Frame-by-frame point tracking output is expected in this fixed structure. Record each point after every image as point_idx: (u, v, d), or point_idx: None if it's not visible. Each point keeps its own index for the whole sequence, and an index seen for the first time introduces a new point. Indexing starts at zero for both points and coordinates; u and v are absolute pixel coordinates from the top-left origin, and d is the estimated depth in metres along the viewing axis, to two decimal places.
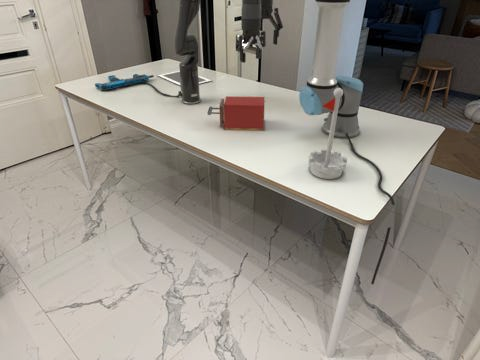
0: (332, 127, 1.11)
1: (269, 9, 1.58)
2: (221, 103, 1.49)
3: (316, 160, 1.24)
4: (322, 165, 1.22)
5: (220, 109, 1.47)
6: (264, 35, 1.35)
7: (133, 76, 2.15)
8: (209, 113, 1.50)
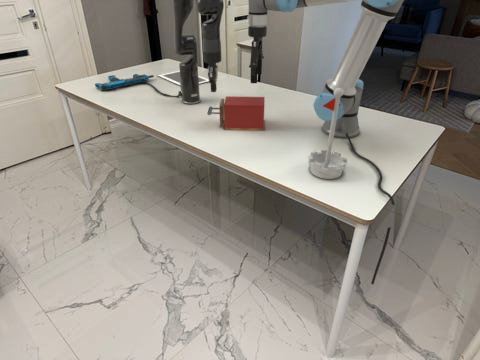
0: (332, 127, 1.11)
1: (260, 38, 1.41)
2: (221, 103, 1.49)
3: (316, 160, 1.24)
4: (322, 165, 1.22)
5: (220, 109, 1.47)
6: None
7: (133, 76, 2.15)
8: (209, 113, 1.50)
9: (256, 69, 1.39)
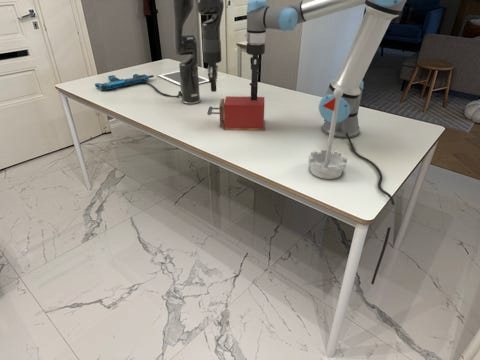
0: (332, 127, 1.11)
1: None
2: (221, 103, 1.49)
3: (316, 160, 1.24)
4: (322, 165, 1.22)
5: (220, 109, 1.47)
6: None
7: (133, 76, 2.15)
8: (209, 113, 1.50)
9: (256, 86, 1.38)
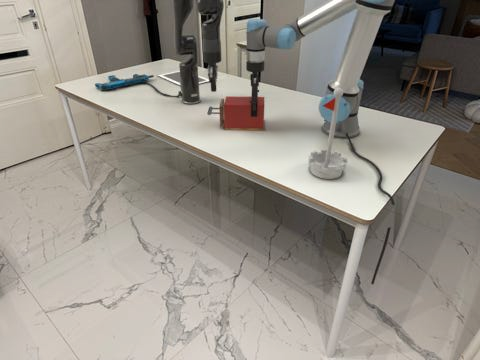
0: (332, 127, 1.11)
1: None
2: (221, 103, 1.49)
3: (316, 160, 1.24)
4: (322, 165, 1.22)
5: (220, 109, 1.47)
6: None
7: (133, 76, 2.15)
8: (209, 113, 1.50)
9: (256, 103, 1.43)
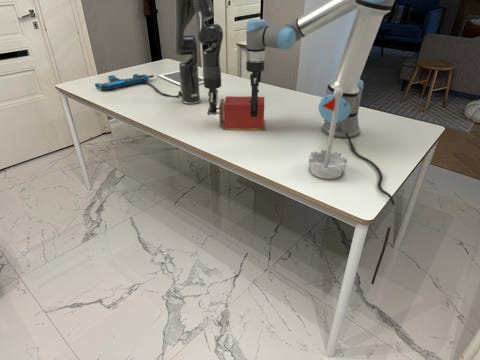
0: (332, 127, 1.11)
1: None
2: (221, 103, 1.49)
3: (316, 160, 1.24)
4: (322, 165, 1.22)
5: (220, 109, 1.47)
6: None
7: (133, 76, 2.15)
8: (209, 113, 1.50)
9: (256, 103, 1.43)
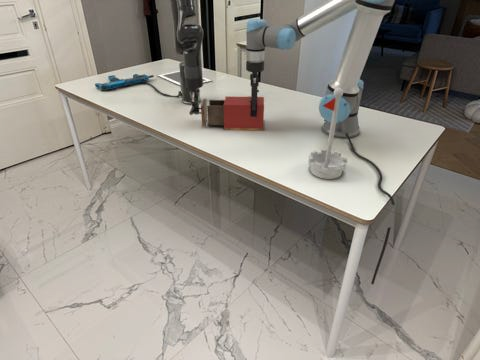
0: (332, 127, 1.11)
1: None
2: (203, 103, 1.49)
3: (316, 160, 1.24)
4: (322, 165, 1.22)
5: (202, 109, 1.47)
6: None
7: (133, 76, 2.15)
8: (191, 113, 1.50)
9: (256, 103, 1.43)
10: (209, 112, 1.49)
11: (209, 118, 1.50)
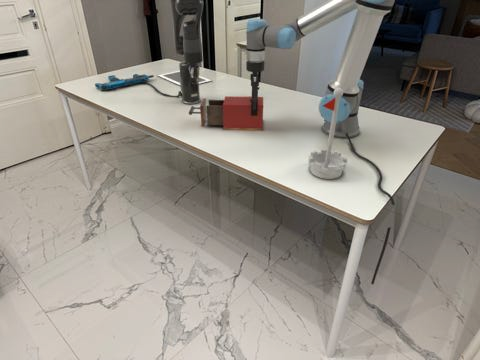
0: (332, 127, 1.11)
1: None
2: (202, 103, 1.50)
3: (316, 160, 1.24)
4: (322, 165, 1.22)
5: (201, 109, 1.47)
6: (199, 69, 1.48)
7: (133, 76, 2.15)
8: (190, 113, 1.50)
9: (256, 102, 1.42)
10: (208, 112, 1.49)
11: (208, 118, 1.50)
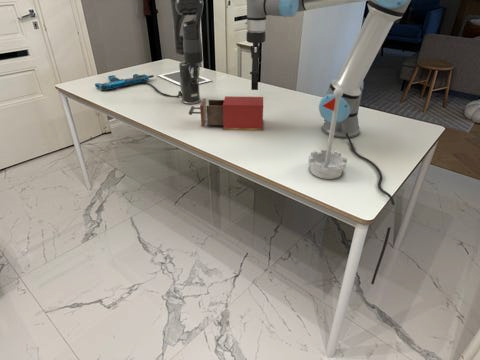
0: (332, 127, 1.11)
1: None
2: (202, 103, 1.50)
3: (316, 160, 1.24)
4: (322, 165, 1.22)
5: (201, 109, 1.47)
6: (199, 69, 1.48)
7: (133, 76, 2.15)
8: (190, 113, 1.50)
9: (257, 75, 1.36)
10: (208, 112, 1.49)
11: (208, 118, 1.50)
